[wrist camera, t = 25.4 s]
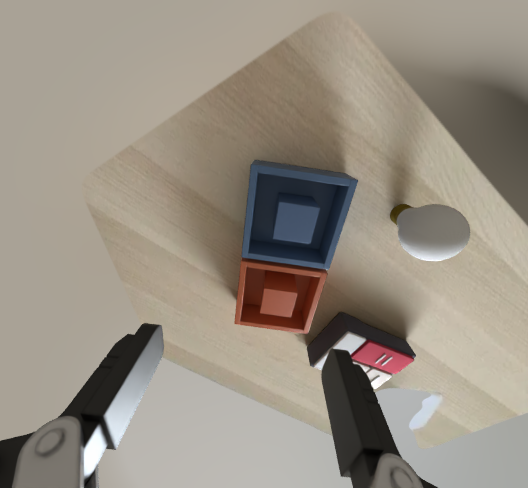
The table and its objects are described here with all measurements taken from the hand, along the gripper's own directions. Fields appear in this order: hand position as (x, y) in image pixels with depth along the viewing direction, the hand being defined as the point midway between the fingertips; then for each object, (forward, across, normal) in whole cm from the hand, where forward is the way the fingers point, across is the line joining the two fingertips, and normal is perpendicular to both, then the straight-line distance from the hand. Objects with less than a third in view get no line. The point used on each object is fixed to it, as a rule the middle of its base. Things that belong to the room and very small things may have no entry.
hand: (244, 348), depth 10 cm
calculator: (+22, -21, +23) cm, 38 cm away
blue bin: (+22, -4, 0) cm, 22 cm away
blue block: (+21, -4, 0) cm, 22 cm away
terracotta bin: (+22, -4, +12) cm, 25 cm away
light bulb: (+22, -18, -3) cm, 28 cm away
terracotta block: (+21, -4, +12) cm, 25 cm away
